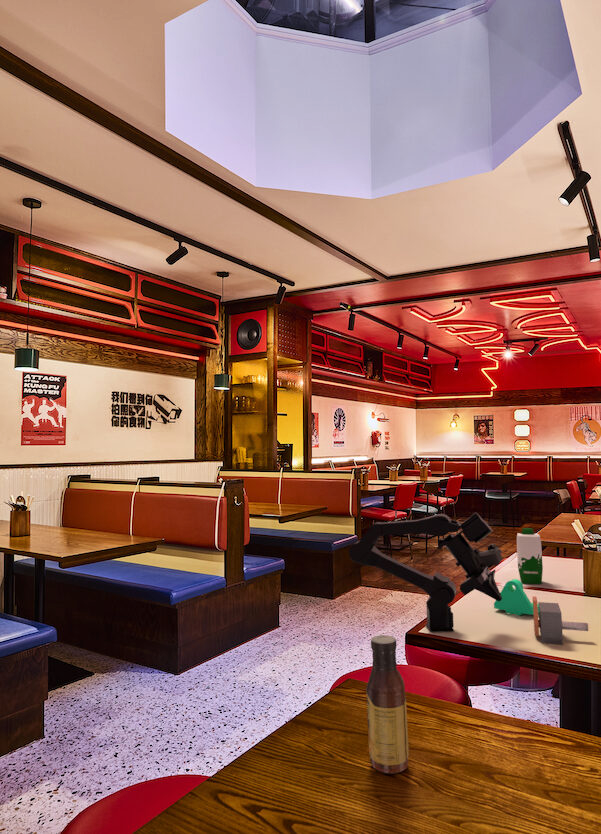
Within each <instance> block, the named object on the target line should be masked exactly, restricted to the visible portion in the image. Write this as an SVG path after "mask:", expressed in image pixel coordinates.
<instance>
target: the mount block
mask: <svg viewBox="0 0 601 834" xmlns="http://www.w3.org/2000/svg"><path fill="white" fill-rule="evenodd" d="M537 604H538V606H539V612H538V620H540V625H541V628H539V636H540V639H541V640H540V641H541V643H542V644H549V645H551V644H552V645H564V638H563V629H562V621H563V620H562V617H563V616H562V610H561V607H560V604H559V603H557V602H545V601H544V602H543V601H537Z"/></svg>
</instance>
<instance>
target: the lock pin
mask: <svg viewBox="0 0 601 834" xmlns="http://www.w3.org/2000/svg"><path fill="white" fill-rule="evenodd" d="M537 597H538V596H532V603H533V615H532V616H533V633H534V636H535V637H536V636H538V637H539V636H540V628H541V625H540V620H539V612H538V598H537ZM562 630H565V631H567V630H568V631H578V632H579V631H580V632H582V631H583V632H589V624H588V622H577V621H564V620H562Z"/></svg>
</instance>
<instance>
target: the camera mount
mask: <svg viewBox="0 0 601 834" xmlns="http://www.w3.org/2000/svg"><path fill="white" fill-rule="evenodd" d="M500 594H501V597H502V600H501V601H497V600H495V601H494V603H493V608H494V610H495V609H496V610H501V611H505V614H507V613H509V614H508V615H512V614H516V615H515V616H518V615H522V616H524V615H532V616H533V602H531V601H530V599H529V598H528V595H527V594H526V592H525V591H524V584H522V582H521V580H519V579H518V578H517V579H516V578H514V579H511V580H509V581H507V582H506V583H505V584H504V586H503V587H502V590H501V591H500ZM538 613H539V606H538ZM523 614H524V615H523Z"/></svg>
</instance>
